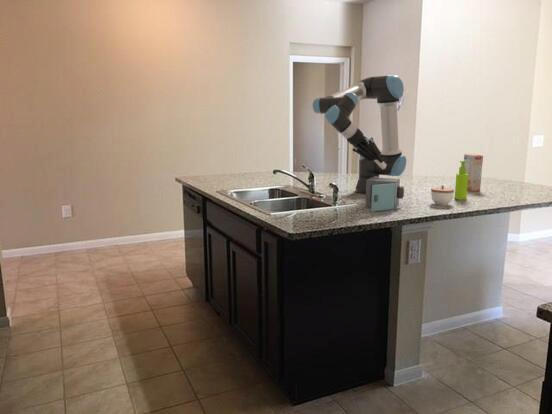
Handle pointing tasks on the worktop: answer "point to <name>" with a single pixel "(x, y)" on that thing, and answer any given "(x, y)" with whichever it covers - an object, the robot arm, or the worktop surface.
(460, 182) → the soap dispenser
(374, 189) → the side door
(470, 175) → the cracker box
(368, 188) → the small grey cabinet
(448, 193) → the lidded jar
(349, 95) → the robot arm
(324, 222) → the worktop surface
